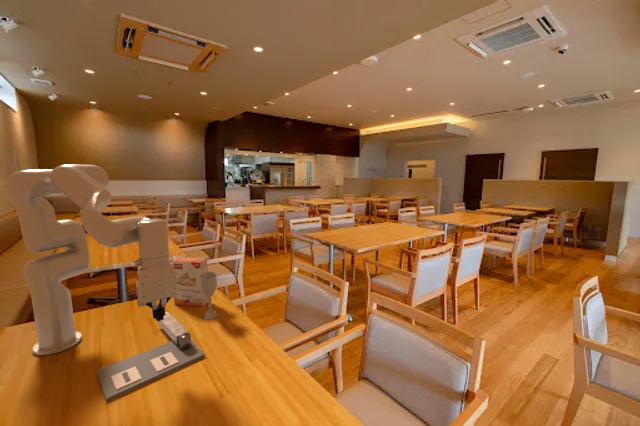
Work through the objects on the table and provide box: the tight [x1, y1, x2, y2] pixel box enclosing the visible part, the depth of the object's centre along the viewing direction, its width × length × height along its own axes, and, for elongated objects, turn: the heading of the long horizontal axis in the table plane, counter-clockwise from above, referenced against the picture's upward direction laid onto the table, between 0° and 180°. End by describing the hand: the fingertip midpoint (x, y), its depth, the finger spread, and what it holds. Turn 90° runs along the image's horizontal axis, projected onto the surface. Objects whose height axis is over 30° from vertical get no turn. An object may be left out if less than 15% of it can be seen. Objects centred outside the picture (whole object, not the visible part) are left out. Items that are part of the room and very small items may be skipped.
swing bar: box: [156, 311, 192, 350], centre depth 103 cm, size 4×24×4 cm, turn 46°
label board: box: [96, 339, 206, 403], centre depth 89 cm, size 15×26×1 cm, turn 135°
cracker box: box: [170, 256, 209, 308], centre depth 128 cm, size 14×6×21 cm, turn 81°
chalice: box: [199, 271, 218, 320], centre depth 118 cm, size 7×7×18 cm
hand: (159, 318), depth 87 cm, fingers closed
